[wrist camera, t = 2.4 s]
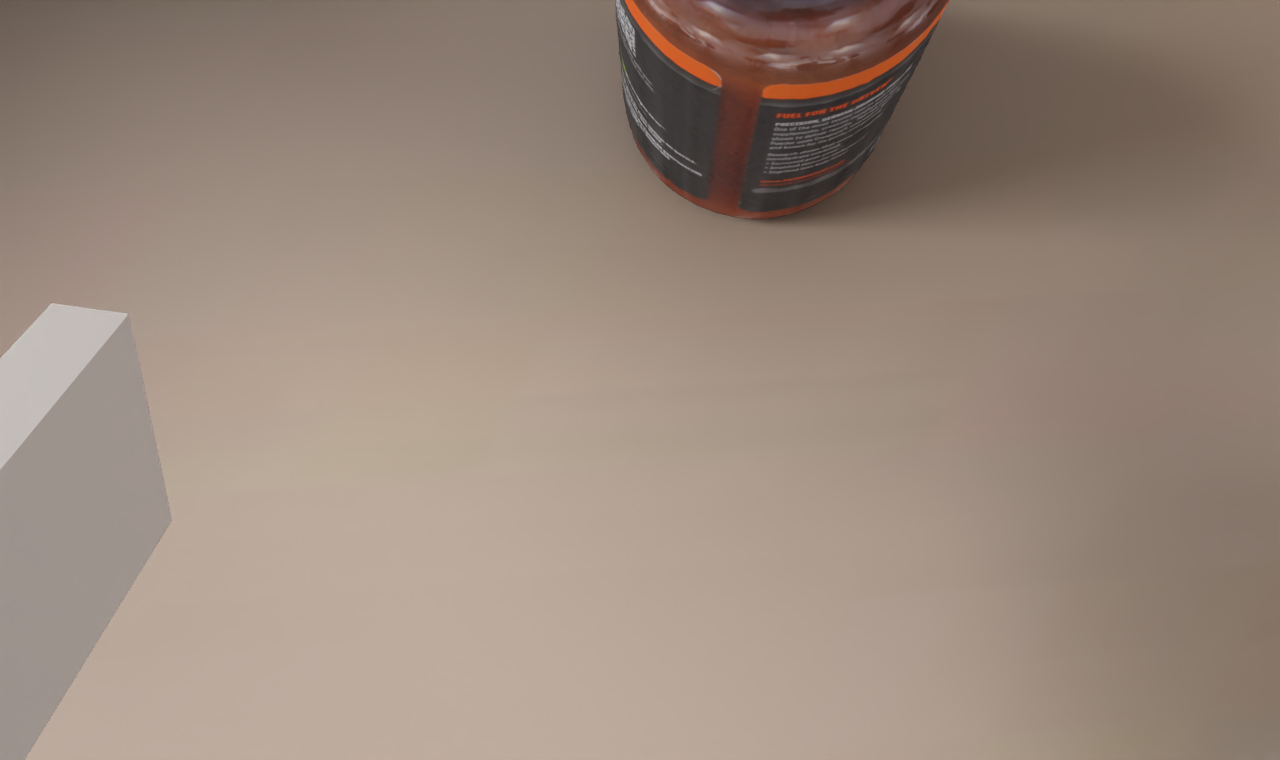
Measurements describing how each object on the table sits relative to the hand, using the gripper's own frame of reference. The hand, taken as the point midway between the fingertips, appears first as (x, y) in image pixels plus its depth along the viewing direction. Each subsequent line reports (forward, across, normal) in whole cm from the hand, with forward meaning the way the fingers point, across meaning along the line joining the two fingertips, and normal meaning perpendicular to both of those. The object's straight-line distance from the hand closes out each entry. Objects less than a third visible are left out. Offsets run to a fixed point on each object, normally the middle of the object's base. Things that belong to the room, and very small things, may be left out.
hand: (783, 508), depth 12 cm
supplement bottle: (+17, 0, -3) cm, 17 cm away
